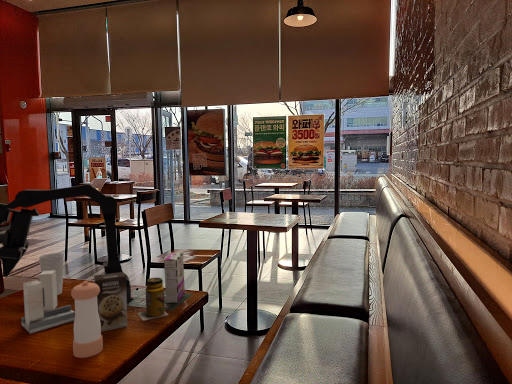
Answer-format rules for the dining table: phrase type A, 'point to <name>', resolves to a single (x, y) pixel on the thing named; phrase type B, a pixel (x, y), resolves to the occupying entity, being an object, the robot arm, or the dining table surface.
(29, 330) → the grey and white holder
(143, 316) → the condiment
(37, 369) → the dining table surface
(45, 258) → the cup
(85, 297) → the pepper shaker
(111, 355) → the dining table surface
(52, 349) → the dining table surface
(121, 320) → the coffee box
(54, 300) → the finger
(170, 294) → the candy bar box
